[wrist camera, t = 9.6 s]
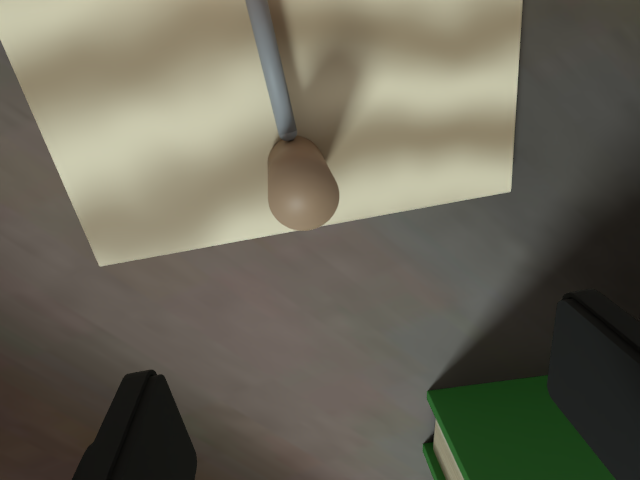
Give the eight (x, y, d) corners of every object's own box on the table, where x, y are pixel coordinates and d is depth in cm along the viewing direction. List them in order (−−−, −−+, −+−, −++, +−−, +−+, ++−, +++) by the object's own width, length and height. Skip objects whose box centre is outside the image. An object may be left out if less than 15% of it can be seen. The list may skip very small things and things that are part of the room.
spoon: (350, 178, 24) (374, 214, 19) (252, 201, 24) (248, 244, 19) (276, -228, 17) (282, -360, 11) (133, -196, 17) (69, -315, 11)
